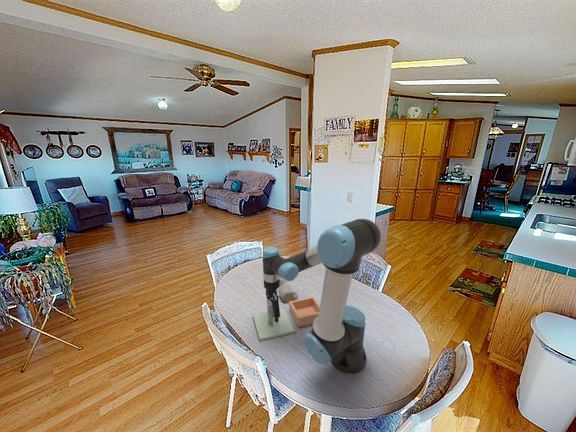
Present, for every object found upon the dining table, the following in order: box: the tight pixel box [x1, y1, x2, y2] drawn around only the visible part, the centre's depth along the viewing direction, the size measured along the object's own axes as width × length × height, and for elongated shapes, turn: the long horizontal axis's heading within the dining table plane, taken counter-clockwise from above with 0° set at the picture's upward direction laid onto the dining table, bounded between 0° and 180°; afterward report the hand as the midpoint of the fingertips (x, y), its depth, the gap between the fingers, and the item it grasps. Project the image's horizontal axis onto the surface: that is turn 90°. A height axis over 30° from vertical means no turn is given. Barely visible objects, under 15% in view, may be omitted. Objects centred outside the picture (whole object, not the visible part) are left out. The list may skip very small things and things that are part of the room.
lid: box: [252, 306, 296, 342], centre depth 127 cm, size 17×17×9 cm
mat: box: [251, 309, 297, 343], centre depth 129 cm, size 18×18×1 cm
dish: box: [288, 296, 320, 329], centre depth 134 cm, size 14×14×6 cm
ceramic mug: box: [277, 283, 299, 303], centre depth 149 cm, size 11×8×8 cm
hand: (272, 317), depth 127 cm, fingers open, 12 cm apart
